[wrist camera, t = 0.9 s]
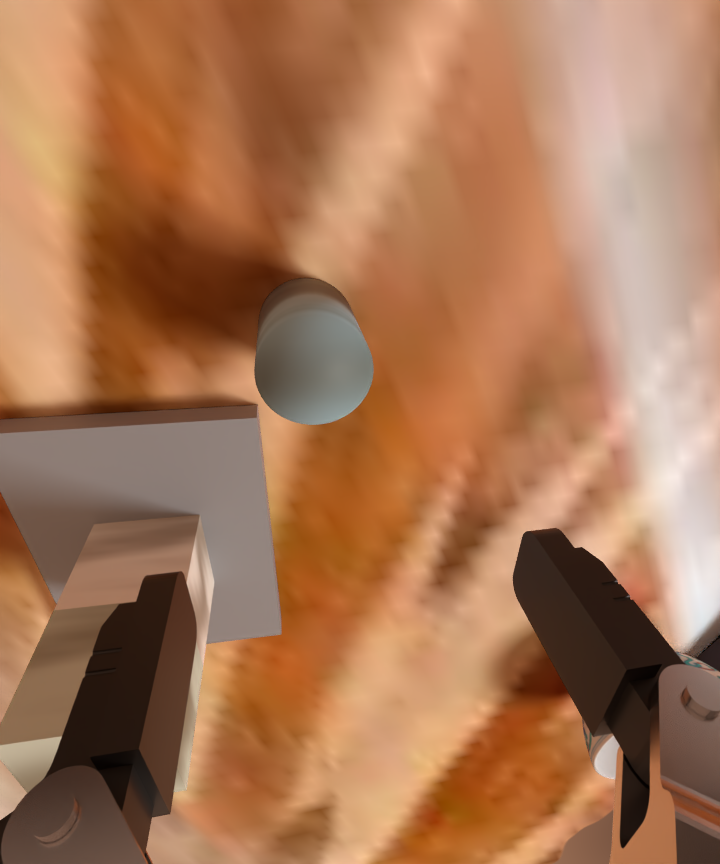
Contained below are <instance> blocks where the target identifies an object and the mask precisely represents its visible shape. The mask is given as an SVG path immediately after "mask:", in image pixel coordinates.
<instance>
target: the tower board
mask: <svg viewBox="0 0 720 864" xmlns="http://www.w3.org/2000/svg"><path fill="white" fill-rule="evenodd" d="M0 492H1V494H2V496H3V498H4V500H5V502H6V504H7V506H8V508H9V510H10V512H11V514H12V516H13V518H14V520H15V522H16V524H17V526H18V528H19V530H20V532H21V534H22V536H23V538H24V540H25V542H26V544H27V546H28V548H29V550H30V552H31V554H32V556H33V558H34V560H35V562H36V564H37V566H38V568H39V570H40V572H41V574H42V576H43V578H44V580H45V582H46V584H47V586H48V588H49V590H50V592H51V594H52V597H53V599H54V601H55V603H56V604H57V602H58V600H59V598H60V596H61V594H62V592H63V589H64V587H65V585H66V583H67V581H68V579H69V577H70V574H71V572H72V570H73V568H74V566H75V564H76V562H77V560H78V557H79V555H80V553H81V551H82V549H83V547H84V545H85V542H86V540H87V538H88V536H89V534H90V532H91V530H92V527H93V525H94V524H102V523H113V522H124V521H136V520H147V519H158V518H170V517H181V516H192V515H200V518H201V522H202V527H203V531H204V536H205V541H206V545H207V550H208V555H209V559H210V564H211V568H212V573H213V578H214V589H213V597H212V604H211V612H210V619H209V626H208V634H207V641H206V644H209V643H217V642H225V641H233V640H241V639H249V638H257V637H265V636H273V635H281V612H280V603H279V594H278V585H277V576H276V567H275V558H274V549H273V540H272V531H271V522H270V513H269V504H268V495H267V486H266V477H265V468H264V459H263V450H262V441H261V432H260V423H259V414H258V405H244V406H227V407H209V408H192V409H174V410H156V411H139V412H121V413H104V414H86V415H69V416H51V417H34V418H16V419H0Z"/></svg>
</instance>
